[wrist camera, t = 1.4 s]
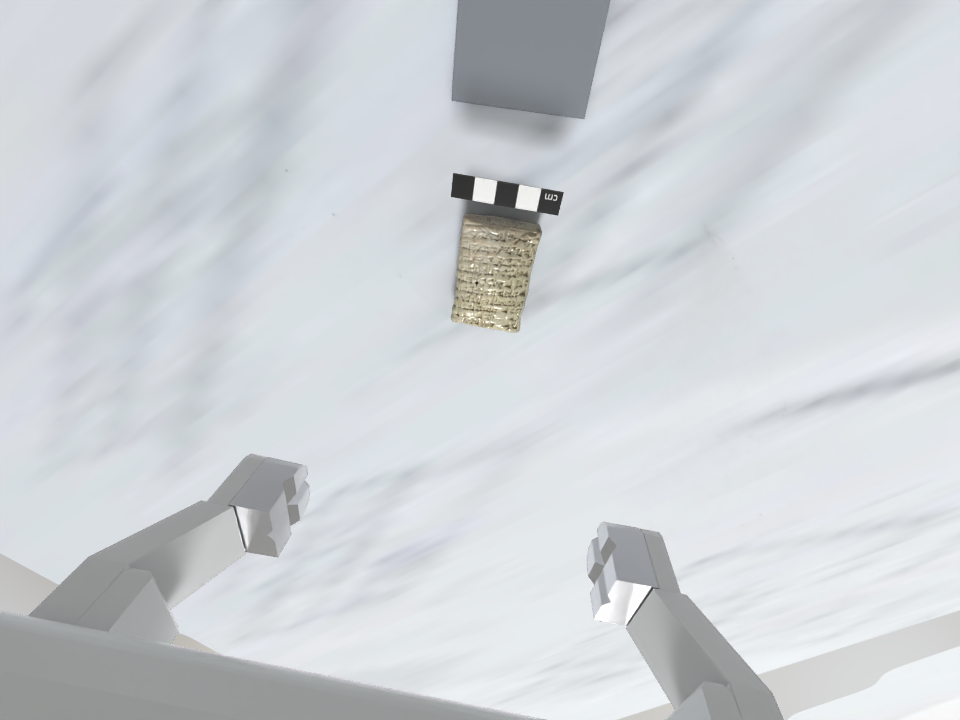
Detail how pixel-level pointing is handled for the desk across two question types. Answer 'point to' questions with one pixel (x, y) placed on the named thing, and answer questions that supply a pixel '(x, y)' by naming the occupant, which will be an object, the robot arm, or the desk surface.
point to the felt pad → (528, 54)
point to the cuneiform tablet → (497, 252)
